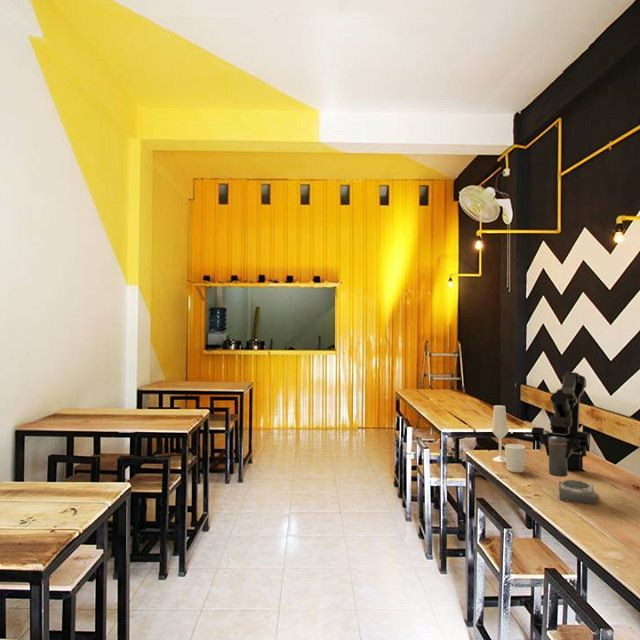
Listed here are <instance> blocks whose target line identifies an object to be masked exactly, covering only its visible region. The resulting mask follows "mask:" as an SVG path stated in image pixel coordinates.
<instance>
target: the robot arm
mask: <svg viewBox="0 0 640 640" xmlns="http://www.w3.org/2000/svg"><path fill="white" fill-rule="evenodd" d="M586 387H587V379H586V377H585V376H583V375H581V374H579V373H578V372H574V371H573V372H571V371H570V372H569V371H566V372H564V375H562V385H561V388H559V389H558V388H557V390H556V391H555V392H554V393H552V394H551V395H550V402H551V405H552V409H553V411H554V414H553V416H550V424H549V425H550V430H551V431H547V430H545V428H544V427H538V426H534V427H532V428H531V435H532V439H533V441H535V442H540V443H541V444H544V447H545V451H546V456H547V457H549V442H548V441H549V440H548V437H550V436H561V437H565V438H567V456H566V457H567V470H568V472H585V471H586V470H585V469H584V467H583V466H584V464H583V462H584V461H583V460H584V459H583V458H584V457H587V448H588V447H590V437H589V433H588V432H587V431H580V428H579V427H580V404H581V403H580V401H581V397H582V396H583V395H584V393H585V388H586Z"/></svg>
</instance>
